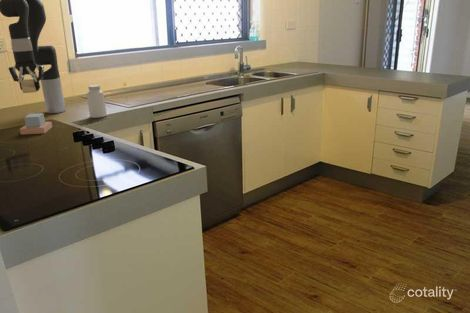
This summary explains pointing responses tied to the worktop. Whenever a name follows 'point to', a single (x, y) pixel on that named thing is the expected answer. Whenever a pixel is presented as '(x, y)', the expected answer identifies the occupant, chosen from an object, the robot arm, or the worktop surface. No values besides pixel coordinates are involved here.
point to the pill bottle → (96, 102)
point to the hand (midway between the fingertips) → (30, 90)
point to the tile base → (36, 129)
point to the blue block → (34, 120)
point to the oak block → (28, 86)
